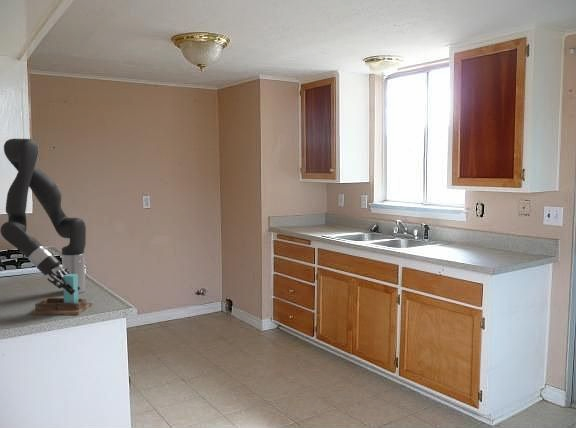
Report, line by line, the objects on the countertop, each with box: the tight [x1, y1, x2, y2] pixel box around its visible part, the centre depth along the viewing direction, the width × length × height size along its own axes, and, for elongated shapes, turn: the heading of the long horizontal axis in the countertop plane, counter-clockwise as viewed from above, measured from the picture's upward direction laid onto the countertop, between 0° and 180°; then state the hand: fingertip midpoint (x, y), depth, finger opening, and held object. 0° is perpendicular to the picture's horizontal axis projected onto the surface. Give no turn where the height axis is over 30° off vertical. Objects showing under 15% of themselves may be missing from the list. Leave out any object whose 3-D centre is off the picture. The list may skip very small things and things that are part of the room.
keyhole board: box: [30, 297, 93, 316], centre depth 204 cm, size 13×18×4 cm
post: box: [62, 274, 80, 303], centre depth 203 cm, size 4×4×12 cm
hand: (75, 291), depth 203 cm, fingers closed on post, 4 cm apart
